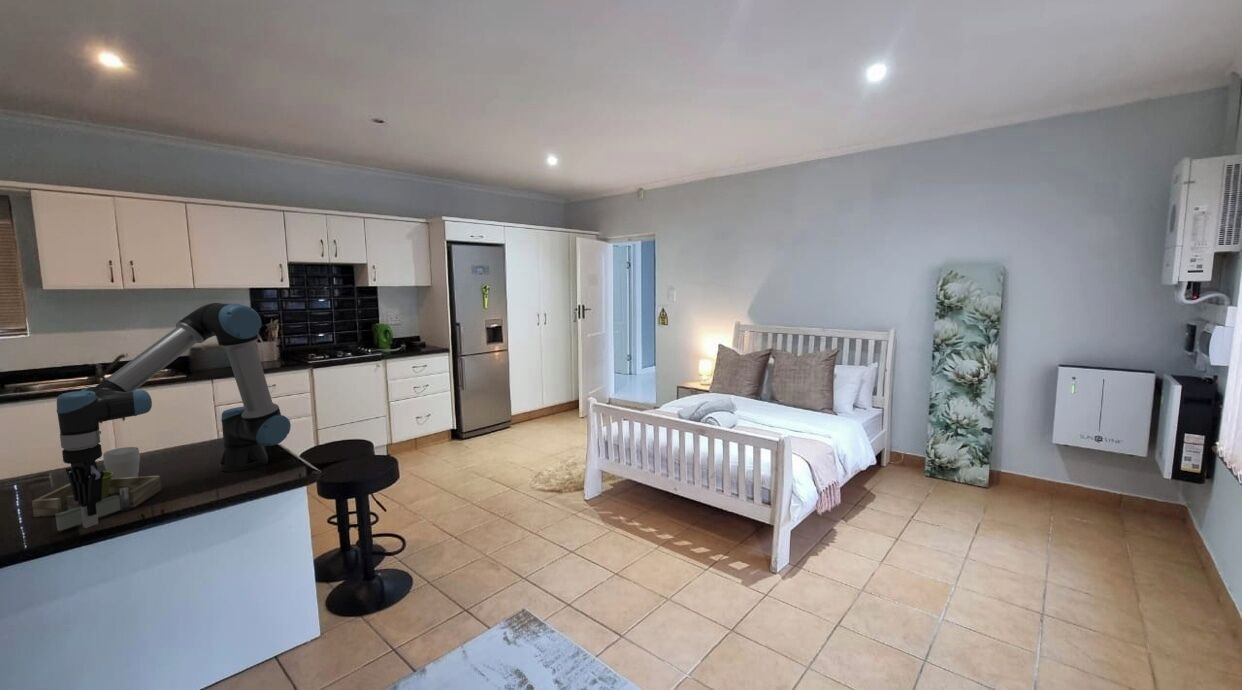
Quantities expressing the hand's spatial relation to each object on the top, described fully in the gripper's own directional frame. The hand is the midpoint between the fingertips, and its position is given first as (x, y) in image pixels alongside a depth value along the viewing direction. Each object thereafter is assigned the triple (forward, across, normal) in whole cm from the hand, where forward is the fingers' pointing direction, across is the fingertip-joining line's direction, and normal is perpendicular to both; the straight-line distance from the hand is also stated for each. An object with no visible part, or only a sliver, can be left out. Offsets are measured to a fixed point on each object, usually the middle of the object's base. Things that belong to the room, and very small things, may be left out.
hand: (90, 525), depth 143 cm
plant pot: (+2, +22, -11) cm, 24 cm away
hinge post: (+1, +6, -11) cm, 13 cm away
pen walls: (+1, +20, -12) cm, 23 cm away
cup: (+2, +31, -23) cm, 38 cm away
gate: (+1, +6, -3) cm, 6 cm away
